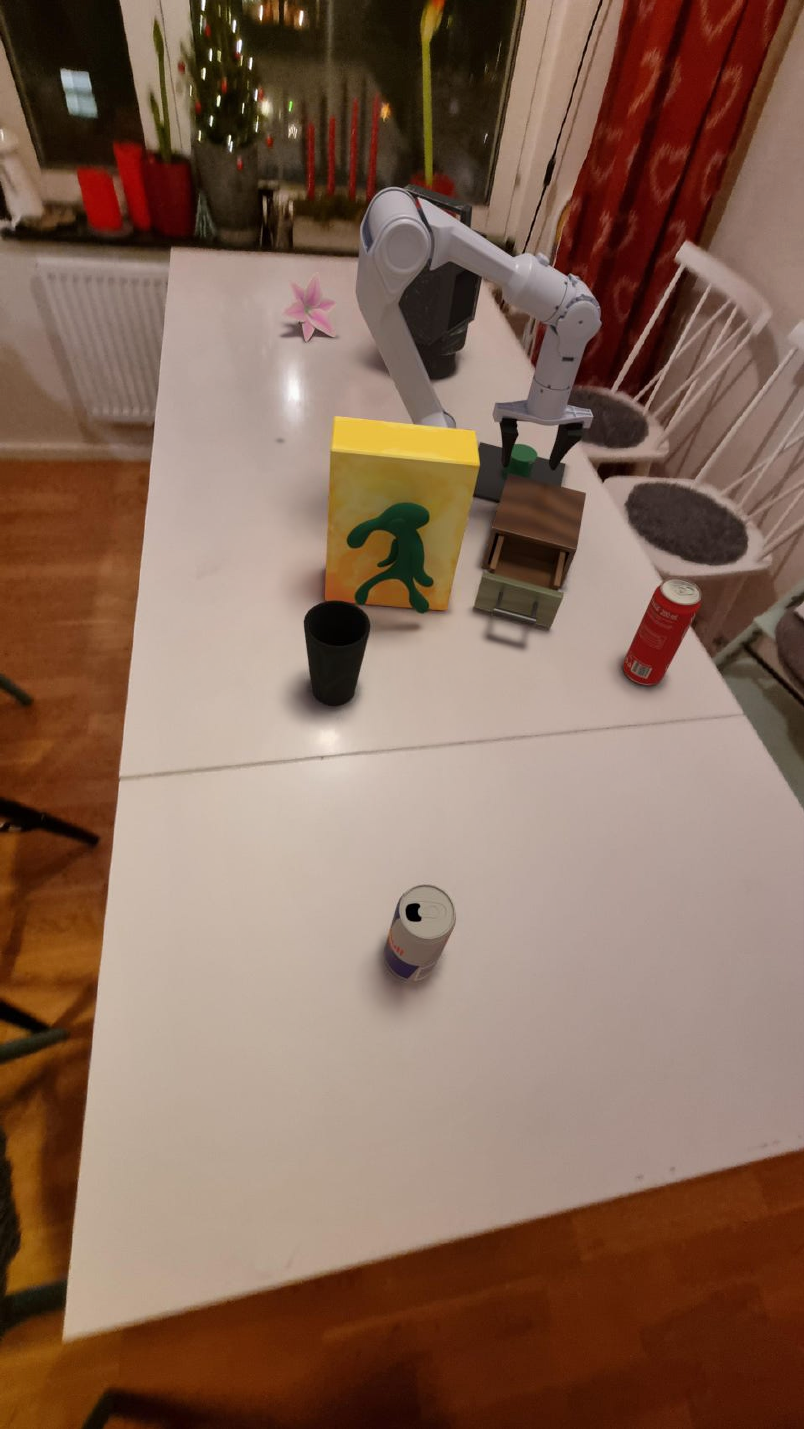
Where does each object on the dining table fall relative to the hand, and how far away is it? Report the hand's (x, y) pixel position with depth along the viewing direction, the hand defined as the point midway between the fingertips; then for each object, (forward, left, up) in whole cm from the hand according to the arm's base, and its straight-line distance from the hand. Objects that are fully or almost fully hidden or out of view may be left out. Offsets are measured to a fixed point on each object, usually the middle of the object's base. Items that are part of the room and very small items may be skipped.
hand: (528, 465), depth 108 cm
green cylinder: (-1, +10, -9) cm, 14 cm away
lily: (-51, +44, -10) cm, 68 cm away
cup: (-16, -46, -10) cm, 50 cm away
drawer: (+4, -21, -9) cm, 23 cm away
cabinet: (+4, -8, -9) cm, 13 cm away
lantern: (-26, +41, -10) cm, 50 cm away
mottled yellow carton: (-14, -28, -10) cm, 33 cm away
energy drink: (+2, -76, -10) cm, 76 cm away
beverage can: (+23, -28, -10) cm, 37 cm away
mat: (-1, +10, -9) cm, 14 cm away
